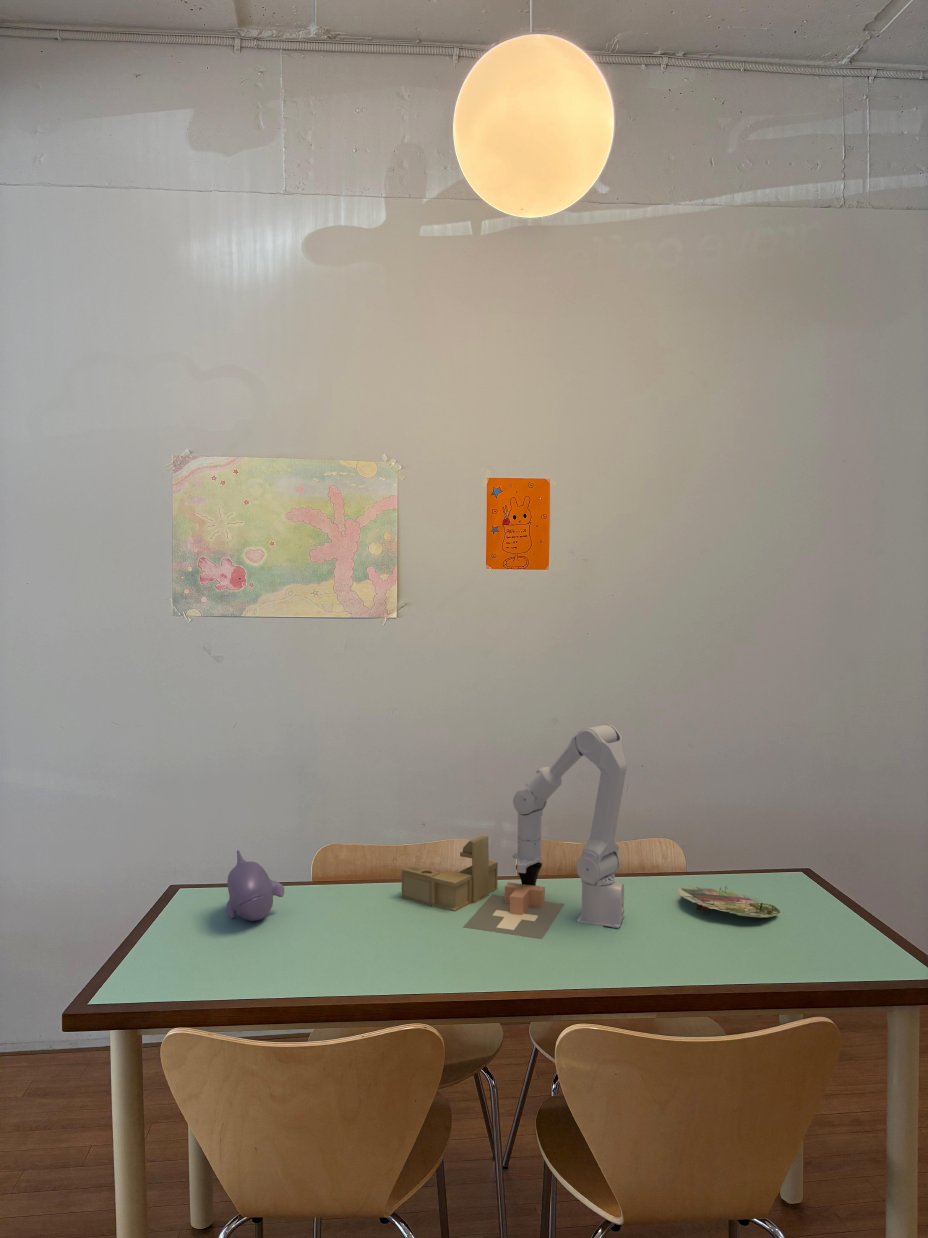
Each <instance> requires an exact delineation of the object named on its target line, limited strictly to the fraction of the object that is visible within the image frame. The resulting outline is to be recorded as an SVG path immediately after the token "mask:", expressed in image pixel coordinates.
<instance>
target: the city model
mask: <svg viewBox="0 0 928 1238" xmlns="http://www.w3.org/2000/svg"><path fill="white" fill-rule="evenodd" d="M727 889H728V887H727V884H726V886H724V891H723V890H722V887H720V888H719V889H715V888H707V887H697V886H689V885H688V886H687V885H686V886H682V887H680V888H679V889H677V891H678V892H677V891H676V893H677V894H678V895H679V896H681V897H682V898H684V899H686V900H688V901H690V902H692V903H694V904H696V911H697V912H698V911H699V912H700V911H701V913H700V914H701V915H708V914H710V910H712V909H714V910H718V911H722V912H724V913H726V912H727V913H730V914H734V915H737V916H740V917H751V918H769V917H771V918H772V917H774V916H775V917H777V915H778V914H780V912H781V909H779V908H778V907H776V906H775V905H773V904H770V903H763V902H758V901H756V900H753V899H751V898H750V897H746V896H743V895H740V894H738V893H734V892H731V891H726V890H727Z"/></svg>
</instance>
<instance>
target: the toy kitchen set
mask: <svg viewBox="0 0 928 1238" xmlns="http://www.w3.org/2000/svg"><path fill="white" fill-rule="evenodd" d="M489 853H490V852H489V836H488V835H486V836H485V835H480V836H478V837H475V838H472V839H471V840H469V841H468V842H467V843H466V844H465V845H464V846H463V847H462V851H461V852H460V853H459V856H460V857H462V858H468V859H471V865H470V866H468V867H465V868H464V869H462V870H460V871H453V872H452V871H451V872H440V871H436V870H432V869H429V868H428V869H427V868H423V867H419V866H415V865H409V866H407V867H403V868H402V869H401V873H402V874H401V898H402V899H404V900H407V901H411V902H415V903H419V904H423V905H426V906H430V907H436V908H440V909H444V910H448V911H451V912H458V910H461V909H462V908H464V907H467V906H469V905H470V904H476V903H478V902H479V901H482V900H483V899H486V898H487V897H490V894H491V893H494V892H495V891H497V890H498V889H499V888H498V883H499V882H498V881H499V880H498V876H499V875H498V874H499V873H498V867H499V865H498V861H495V860H489V859H490V858H489Z"/></svg>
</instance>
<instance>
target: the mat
mask: <svg viewBox="0 0 928 1238" xmlns="http://www.w3.org/2000/svg"><path fill="white" fill-rule="evenodd" d="M564 906H565V903H560V902H552V901H546V900H545V904H544V905H543V907H542V908H538V907H531V906H529V907H528V908H527V910H526V911H525V912H524V914H523V915H518V914H510V904H508V903H505V895H498V894H492V895H491V896H489V898H487V900H486V901H485V902H484V903H483V904H482V905H481V906H480V907H479V909H477V910H476V912H475V913H474V914H473V915H472V916H471V918H470V919H469V920H468V921H467V922H466V923H465V924H464V925H463V926H462V928H465V929H470V930H477V931H485V932H490V933H496V934H497V933H499V934H505V935H514V936H519V937H526V938H531V939H532V938H533V939H538V940H539V939H540V940H542V939H544V937H545V936H546V934H547V933H548V931H549V929H550V927H551V926H552V924H553V923H554V921H555V920H556V919H557V917H558V915H559V914H560V912H561V910H562V909H563V907H564Z"/></svg>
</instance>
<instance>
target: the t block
mask: <svg viewBox="0 0 928 1238" xmlns="http://www.w3.org/2000/svg"><path fill="white" fill-rule="evenodd" d="M545 889H546V887H545V886H540V885H535V886H533V885H525V884H522V883H516V882H507V883H506V884H505V885H504V896H505V903H508V904H510V914H518V915H523V914H524V912H525V911H526V910H527V908H528V907H529V906H531V907H538V908H542V907H543V905H544V904H545V901H546V897H545V895H546V892H545V891H546V890H545Z"/></svg>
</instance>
